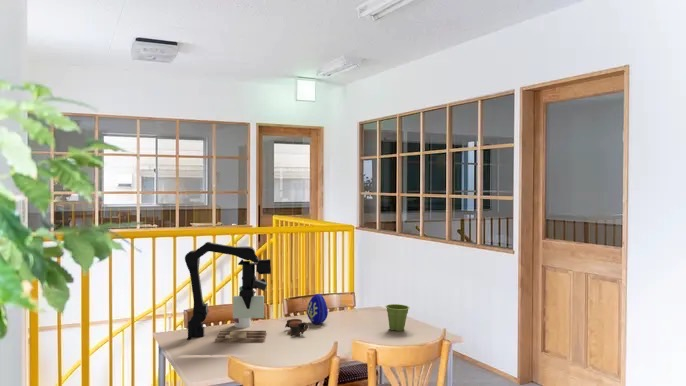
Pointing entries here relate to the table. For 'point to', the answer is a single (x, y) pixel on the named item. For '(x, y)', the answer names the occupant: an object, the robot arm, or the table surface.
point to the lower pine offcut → (233, 337)
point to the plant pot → (397, 316)
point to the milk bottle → (242, 320)
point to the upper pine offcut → (238, 333)
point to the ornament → (317, 309)
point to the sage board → (254, 310)
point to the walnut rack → (251, 337)
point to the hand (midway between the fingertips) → (248, 308)
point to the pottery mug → (296, 327)
